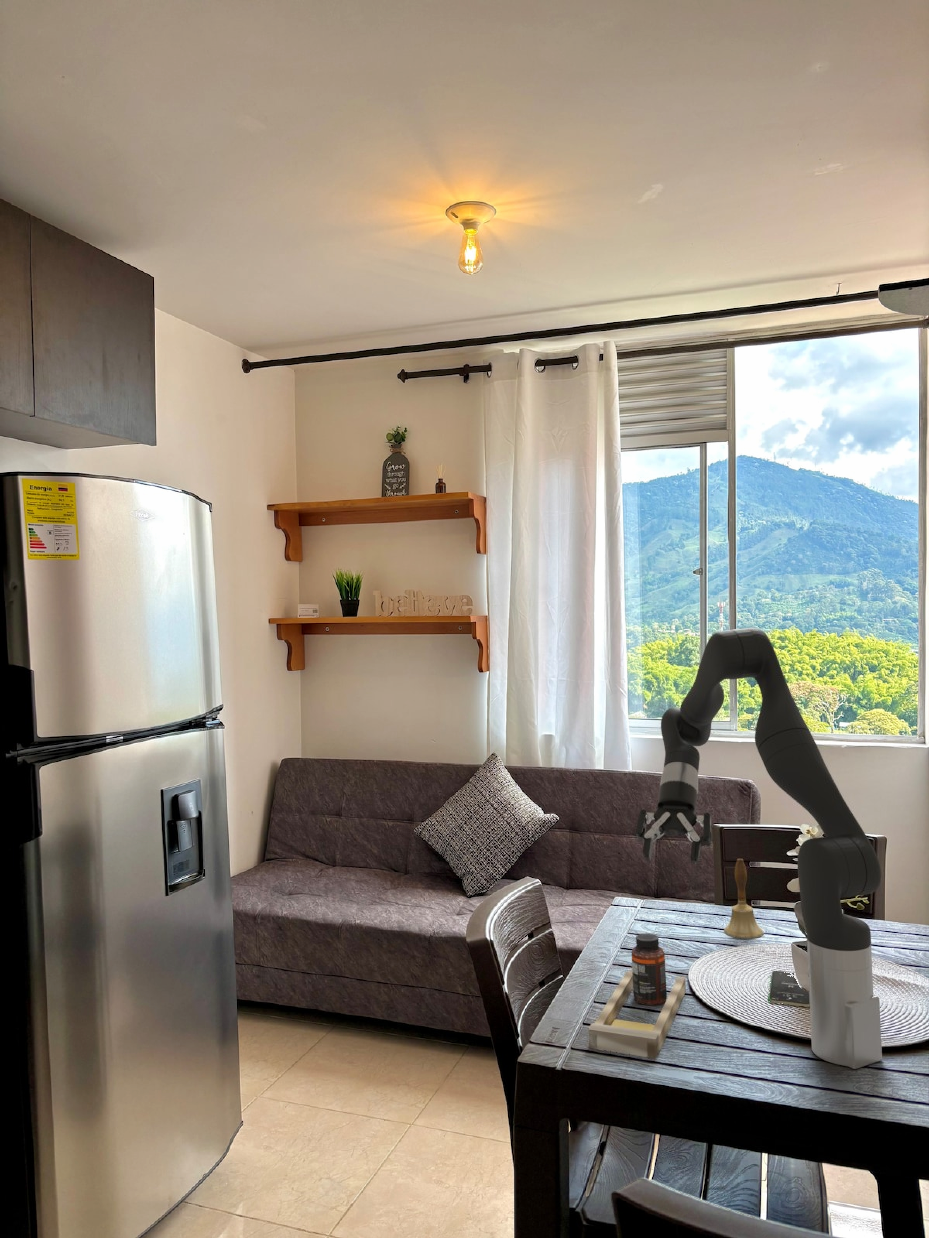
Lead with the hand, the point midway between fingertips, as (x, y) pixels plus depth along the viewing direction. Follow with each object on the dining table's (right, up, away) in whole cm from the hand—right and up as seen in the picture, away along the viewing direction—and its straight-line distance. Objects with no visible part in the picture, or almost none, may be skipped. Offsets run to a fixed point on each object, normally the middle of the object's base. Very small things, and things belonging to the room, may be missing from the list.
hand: (670, 860), depth 167 cm
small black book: (+21, -22, -7) cm, 31 cm away
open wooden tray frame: (-9, -22, -17) cm, 29 cm away
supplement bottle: (-6, -23, -9) cm, 25 cm away
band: (-11, -22, -22) cm, 33 cm away
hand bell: (+22, -23, +25) cm, 40 cm away
